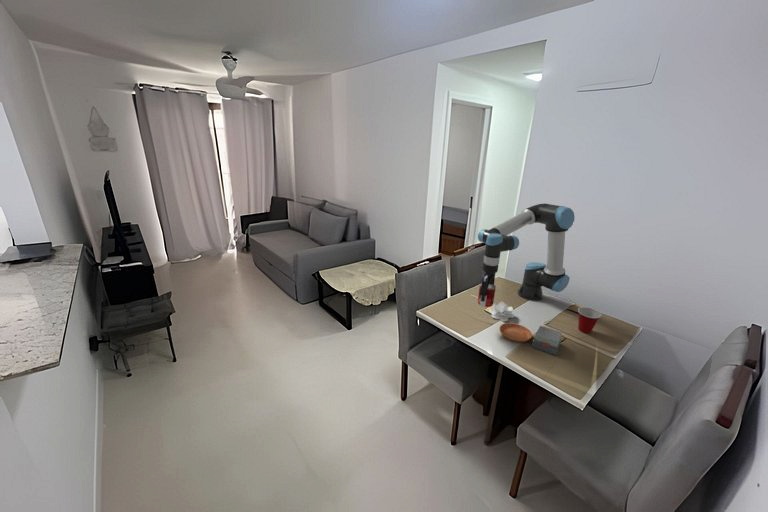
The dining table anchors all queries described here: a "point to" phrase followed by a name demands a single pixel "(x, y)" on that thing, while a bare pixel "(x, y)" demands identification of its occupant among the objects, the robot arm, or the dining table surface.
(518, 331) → the saucer
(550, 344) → the stand
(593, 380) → the dining table surface
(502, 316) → the lotus flower
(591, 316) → the plastic cup
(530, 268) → the robot arm
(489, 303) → the canned food
